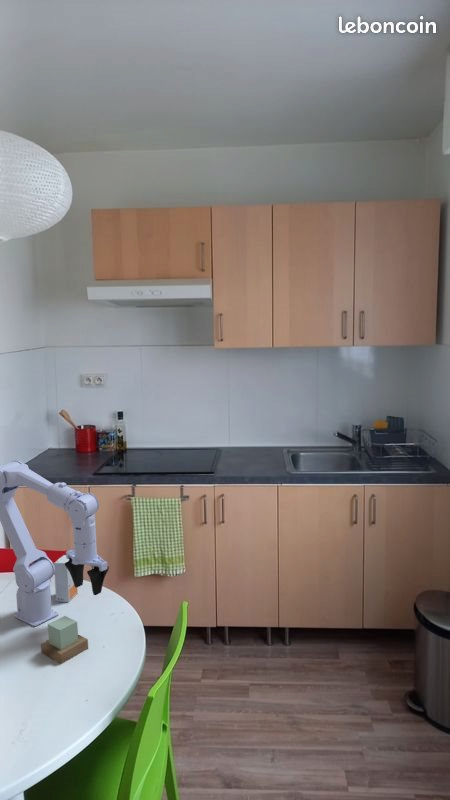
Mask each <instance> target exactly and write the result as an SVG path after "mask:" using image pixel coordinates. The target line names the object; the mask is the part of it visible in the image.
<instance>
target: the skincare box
mask: <svg viewBox="0 0 450 800" xmlns="http://www.w3.org/2000/svg"><path fill="white" fill-rule="evenodd" d="M68 561H69V559H66V554H63V555H62V556H60V557H59V558H58V559H57V560H56V561H55V562H53V564H54V567H55V573H54V583H55V584H54V587H55V602H59V603H60V602H61V603H62V602H63V603H70V601H71V600H73V598H74V597H75V596H76V595H78V594H79V593H78V588H79V587H77V588H76V587H75V586H74V583H73V580H72V577H71V574H70V572H69V570H68V569H67V567H66V566H65V563H66V562H68Z"/></svg>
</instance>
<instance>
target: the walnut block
mask: <svg viewBox="0 0 450 800" xmlns="http://www.w3.org/2000/svg"><path fill="white" fill-rule="evenodd" d="M40 648H41V650H40V651H41V654H42V655H44V656H46V657H47V658H50V659H52V660H54V661H55V662H57V663H59V664H61V665H62V664H65V663H66V662H67V661H69V660H71V659H73V658H75V657H76V656H78V655H80V654H82V653H84V652H85V651H87V650H89V638H86V637H84V636H82V635H80V634H78V641H77V642H75V643H73V644H71V645H70V646H68V647H66V648H64V649H62V650H61V649H59V648H57V647H55V646H53V645H51V644H49V638H48V639H47V640H45V641H42V642H41V643H40Z"/></svg>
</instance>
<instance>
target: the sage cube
mask: <svg viewBox="0 0 450 800" xmlns="http://www.w3.org/2000/svg"><path fill="white" fill-rule="evenodd" d="M78 630H79V628H78V621H77V620H74V619H72V618H70V617H69V616H66V615H63V616H62V617H60V618H58V619H55V620H53V621H51V622H49V623H47V632H48V633H47V634H48V639H49V644H51V645H53V646H55V647H57V648H59V649H61V650H62V649H64V648H66V647H68V646H70V645H71V644H73V643H75V642H77V641H78V635H79V631H78Z"/></svg>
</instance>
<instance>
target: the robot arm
mask: <svg viewBox="0 0 450 800" xmlns="http://www.w3.org/2000/svg"><path fill="white" fill-rule="evenodd" d="M20 486H24V487H27V488H29V489H31V490H33V491H35V492H38V493H40V494H42V495H44V496H45V497H46V500H47V501H48V503H51V504H52V505H54V506H56V507H57V508H60V509H62V510H63V511H66V512H67V514H68V517H69V518H70V520H71V525H72V529H73V530H72V531H73V547H74V549H69V550H68V551H65V555H66V559H69V561H68V562H66V563H65V566H66V567H67V569H68V570H69V572H70V574H71V577H72V580H73V583H74V586H75V587H76V588H79V587H81V586H83V584H84V568H85V565H86V566H91V567H93V568H92V569H89V570H87V571H86V573H87V575H88V578H89V580H90V584H91V590H92V593H93V596H97V595H100V594H101V593H102V589H103V585H104V581H105V577H106V576H107V574H108V571H109V569H110V567H109V565H108V561H106V560H104V559H103V558H102V557H101V556H100V555H98V548H97V529H96V528H97V527H96V525H97V524H96V512H98V511H99V507H100V506H99V505H100V504H99V500H98V498H97V497H96V496H95V495H94V494H93V493H91V492H85V493H83V492H81V491H79V490H76V489H73V488H72V487H70V486H68V485H67V483H66V482H63V481H62V482H56V483H52V482H51V481H49V480H48V479H46V478H44V477H42V476H41V475H40V474H38V473H36V472H35V471H33V470H32V469H30V468H29V466H28V464H26V463H23V462H22V461H20V460H11V462H7V463H4V464H2V465H0V523H1V526H2V528H3V530H4V533H5V535H6V537H7V540H8V542H9V544H10V546H11V548H12V550H13V553H14V555H15V557H16V561H15V563H14V566H13V568H12V570H13V573H14V577H15V583H16V586H17V587H18V588H17V590H16V608H17V613H16V614H14V617H15V618H17V619H19V620H20V621H22V622H24V623H26V624H28V625H29V626H32V627H37V626H39V625H41V624H43V623H45V622H47V621H49V620H51V619H53V618H56V617H57V616H59V612H57V611H55V610H53V609H52V596H51V583H52V578H53V577H54V576H55V567H54V562H53V561H52V560H51V559H50V558H49V556H48V555H47V553H46V552H45V551H43V550H40V549H37V547H36V544H35V543H34V541H33V537H32V536H31V534H30V531H29V530H28V527H27V524H26V523H25V520H24V519H23V515H22V514H21V512H20V510H19V508H18V506H17V503H16V501H15V499H14V496H15V494H16V492H17V490H18V489H19V487H20Z"/></svg>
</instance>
